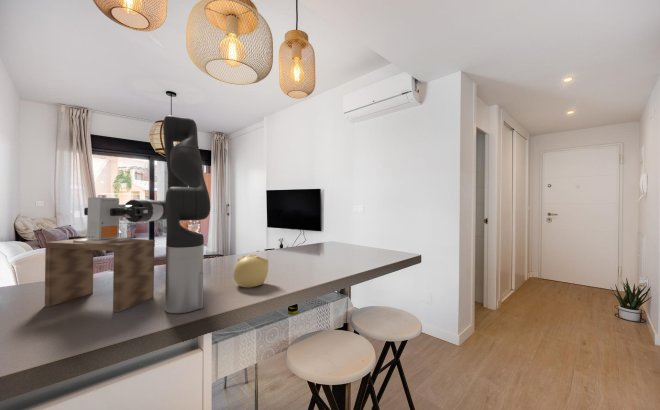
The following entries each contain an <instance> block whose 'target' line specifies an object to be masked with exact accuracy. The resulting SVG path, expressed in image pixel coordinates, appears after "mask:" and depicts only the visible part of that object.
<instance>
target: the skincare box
mask: <svg viewBox="0 0 660 410" xmlns="http://www.w3.org/2000/svg"><path fill="white" fill-rule="evenodd" d="M119 205H120V198H119V197H94V196H93V197H92V196H91V197H87V208H88V215H86V217H87V220H86V221H87V222H86V223H87V224H86V226H87V228H86V238H87V240H103V239H113V238H118V237H119V223H120V221H119V219H120V217H119V216H111V215H110V209H111V208H119Z"/></svg>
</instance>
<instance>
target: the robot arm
mask: <svg viewBox="0 0 660 410" xmlns="http://www.w3.org/2000/svg"><path fill="white" fill-rule="evenodd" d="M162 129H163V130H162V131H163V143H164V145H163V146H164V151H165V152H164V153H165V160H166V167H167V190H166V193H165V200H164V199H163V200H155V199H154V200H153V199H135V198H134V199H130V200H128V201H127V202H126V203H125V204H119V208H111V209H110V215H111V216H119V218H126V219H125V220H127V221H128V222H130V223H142V222H143V223H144V222H145V223H146V222H154V221H161V220H163V221H164V220H166V234H165V235H166V237H165V238H166V239H165V240H166V241H165V283H164V284H165V289H164V290H165V293H164V294H165V297H164V309H165V312H166V313H168V314H183V313H185V314H186V313H190V312H194V311H196V310H200V309H204V306H203V305H204V251H205V250H204V247H205V246H204V245H205V240H204V239H205V237H204V235H203V234H202V233H200V232H196V231H192V230H189V229H187V228H185V227H184V226H182V224H181V223H180V222H181V221H203V220H205V219H207V218H208V216H209V215H210V214H211V213H210V212H211V198H210V194H209V190H208V187H207V183H206V181H205V176H204V171H203V170H204V169H203V163H202V162H203V161H202V157H201V153H200V147H199V140H198V137H199V136H198V125H197V124H196V121H195V120H194V119H192V118H190V117H189V118H188V117H184V116H177V115H166V116H165V117H164V119H163V124H162ZM175 142H177V144H175V145H174V143H175ZM83 214H84V216H88V207H85V208H84V210H83Z"/></svg>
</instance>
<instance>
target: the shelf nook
mask: <svg viewBox="0 0 660 410" xmlns="http://www.w3.org/2000/svg"><path fill="white" fill-rule="evenodd" d="M44 251H45V256H44V261H45V265H44V273H45V274H44V307H51V306H52V307H53V306H55V305H59V304H61V303H62V304H63V303H65V302H67V301H71V300H75V299H78V298H81V297H84V296H87V295H90V294H94V255H95V254H94V251H104V252H105V251H106V252H107V251H109V252H113V273H112V274H113V277H112V279H113V283H112V284H113V285H112V291H113V292H112V312H113V313H120V312H121V311H122V312H123V311H124V310H125V311H126V310H127V309H129V308H132V307H134V306H136V305H138V304H141V303H143V302H146V301H148V300H151V299H153V298H154V296H155V293H154V291H155V239H144V238H143V239H142V238H141V239H139V238H137V239H136V238H131V237H121V236H118V238H113V239H103V240H87V237H82V238H73V239H63V240H56V241H54V240H53V241H45V250H44Z"/></svg>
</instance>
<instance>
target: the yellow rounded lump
mask: <svg viewBox="0 0 660 410" xmlns="http://www.w3.org/2000/svg"><path fill="white" fill-rule="evenodd" d="M268 272H269V259H267V258H264V257H262V256H259V255H257V254H250V255H243V256H241V257H239V258H237V262H236V263H235V265H234V268H233V272H232V273H233V281H234V283H235V284H236V285H237V286H238V287H242V288H254V287H258V286H261V285H263V284H264V283H265V281H266V280H267V278H268V277H267V276H268Z"/></svg>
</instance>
